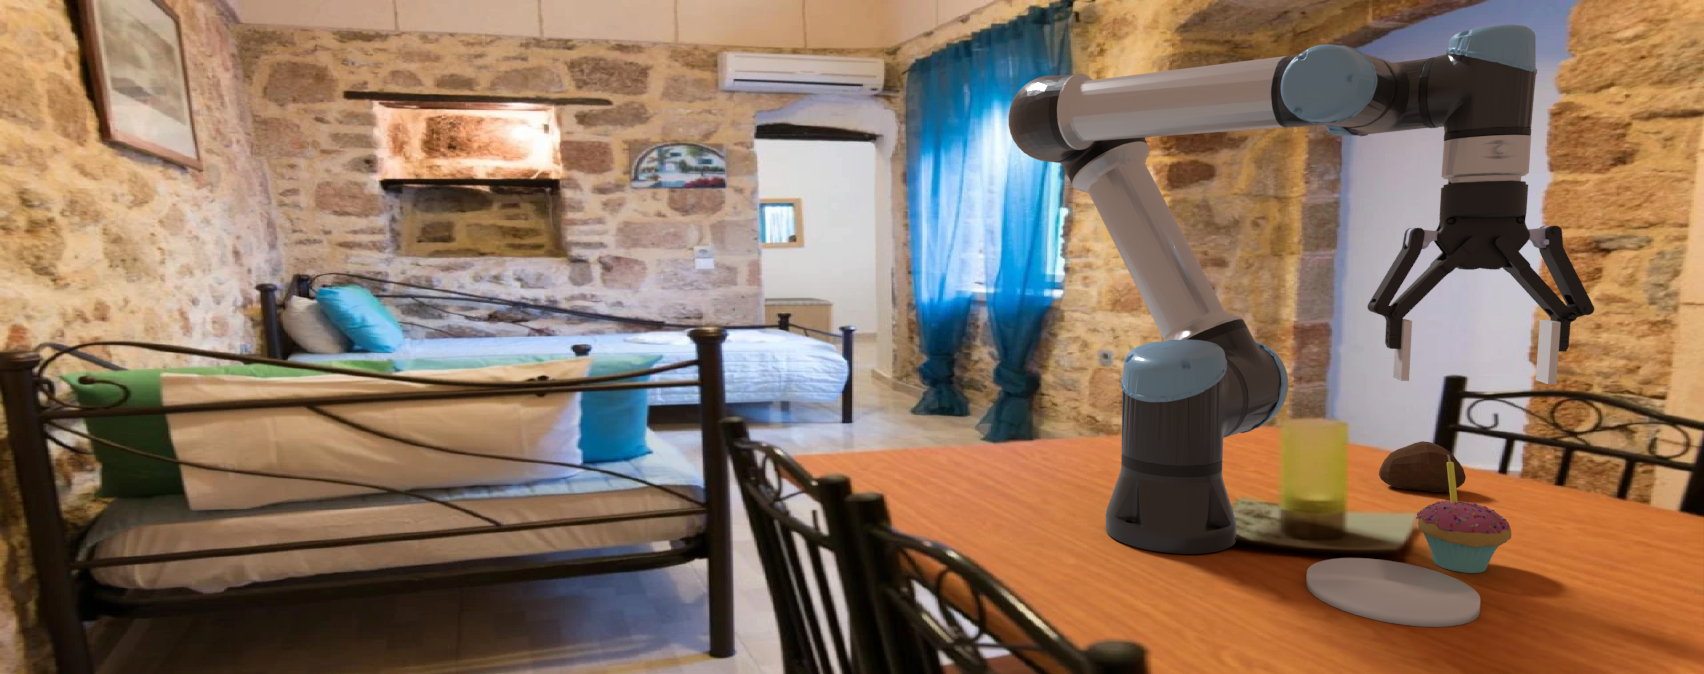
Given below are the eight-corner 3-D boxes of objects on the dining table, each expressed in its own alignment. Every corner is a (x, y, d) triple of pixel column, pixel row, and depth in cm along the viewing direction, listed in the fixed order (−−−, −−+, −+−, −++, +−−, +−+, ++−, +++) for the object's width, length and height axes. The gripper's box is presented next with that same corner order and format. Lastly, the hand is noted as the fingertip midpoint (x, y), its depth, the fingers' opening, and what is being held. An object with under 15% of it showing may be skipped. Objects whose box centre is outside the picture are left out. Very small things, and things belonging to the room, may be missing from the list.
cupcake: (1397, 559, 101) (1402, 454, 100) (1447, 548, 104) (1453, 446, 103) (1476, 585, 93) (1483, 472, 92) (1527, 572, 96) (1534, 462, 95)
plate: (1325, 617, 86) (1325, 605, 85) (1292, 563, 100) (1293, 552, 100) (1507, 633, 82) (1508, 621, 81) (1446, 574, 96) (1447, 563, 96)
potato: (1373, 480, 134) (1375, 434, 133) (1454, 485, 130) (1457, 438, 130) (1384, 493, 127) (1386, 444, 126) (1470, 499, 124) (1473, 449, 123)
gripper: (1361, 182, 94) (1352, 382, 96) (1647, 174, 88) (1630, 389, 90) (1343, 186, 101) (1334, 372, 103) (1605, 179, 95) (1590, 378, 97)
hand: (1472, 381), depth 97 cm, fingers open, 13 cm apart
